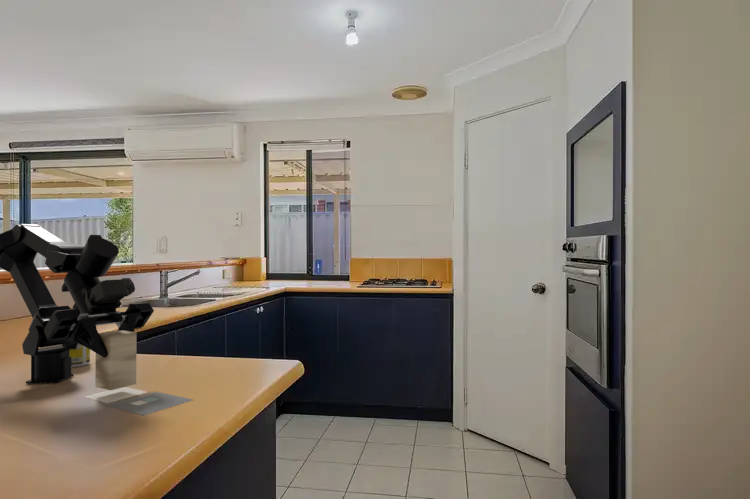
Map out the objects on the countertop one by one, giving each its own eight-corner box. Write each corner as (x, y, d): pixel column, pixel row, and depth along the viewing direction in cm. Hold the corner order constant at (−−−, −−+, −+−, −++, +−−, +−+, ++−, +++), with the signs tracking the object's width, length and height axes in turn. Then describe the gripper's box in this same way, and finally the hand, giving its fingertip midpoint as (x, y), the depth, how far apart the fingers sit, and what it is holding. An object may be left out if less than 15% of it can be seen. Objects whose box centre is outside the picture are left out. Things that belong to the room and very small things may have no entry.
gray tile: (104, 407, 84) (104, 405, 84) (156, 393, 93) (156, 391, 93) (142, 417, 78) (142, 415, 78) (194, 401, 87) (194, 399, 87)
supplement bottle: (80, 362, 122) (81, 323, 122) (94, 364, 119) (94, 324, 120) (59, 366, 117) (59, 326, 117) (72, 368, 114) (72, 327, 115)
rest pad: (83, 398, 89) (83, 396, 90) (124, 388, 96) (124, 386, 96) (107, 404, 85) (107, 403, 85) (148, 393, 92) (148, 392, 92)
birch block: (95, 386, 90) (95, 333, 90) (121, 380, 94) (121, 330, 95) (110, 390, 88) (110, 335, 88) (136, 384, 92) (136, 332, 92)
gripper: (52, 265, 85) (86, 332, 80) (148, 264, 101) (182, 319, 96) (30, 307, 89) (61, 374, 83) (126, 299, 105) (157, 355, 99)
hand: (120, 353), depth 90 cm, fingers closed on birch block, 5 cm apart
